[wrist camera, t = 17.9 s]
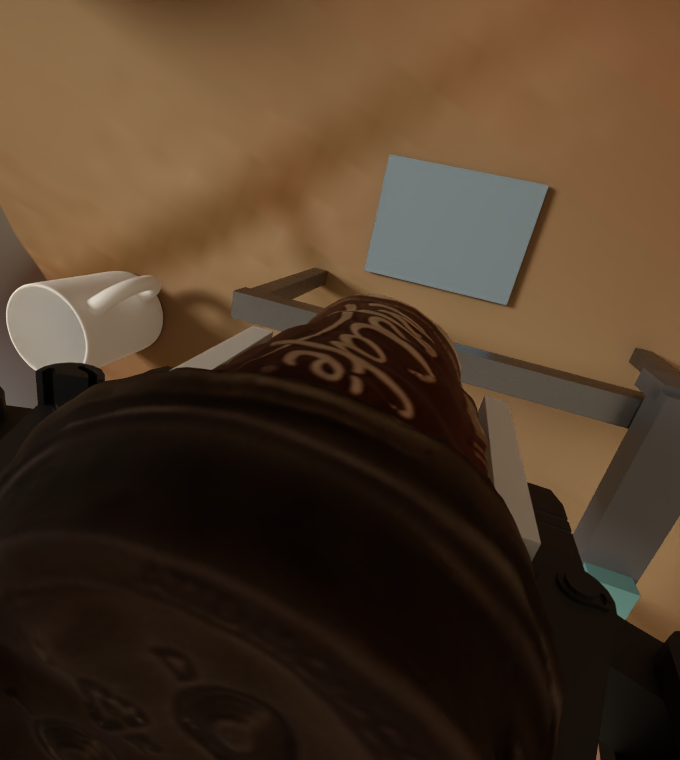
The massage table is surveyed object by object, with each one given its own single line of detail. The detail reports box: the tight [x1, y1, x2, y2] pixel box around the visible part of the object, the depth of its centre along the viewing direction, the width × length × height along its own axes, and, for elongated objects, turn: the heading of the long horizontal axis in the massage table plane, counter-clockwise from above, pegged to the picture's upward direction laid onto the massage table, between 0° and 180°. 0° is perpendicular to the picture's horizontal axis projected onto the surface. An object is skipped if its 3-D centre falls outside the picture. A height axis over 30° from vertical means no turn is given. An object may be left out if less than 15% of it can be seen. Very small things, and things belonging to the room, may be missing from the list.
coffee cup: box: [0, 294, 566, 760], centre depth 11 cm, size 9×8×13 cm
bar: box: [573, 367, 680, 620], centre depth 25 cm, size 3×24×5 cm, turn 168°
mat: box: [365, 154, 549, 305], centre depth 35 cm, size 12×9×1 cm
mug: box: [6, 271, 163, 371], centre depth 40 cm, size 12×8×10 cm
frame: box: [231, 268, 680, 429], centre depth 34 cm, size 28×22×15 cm
